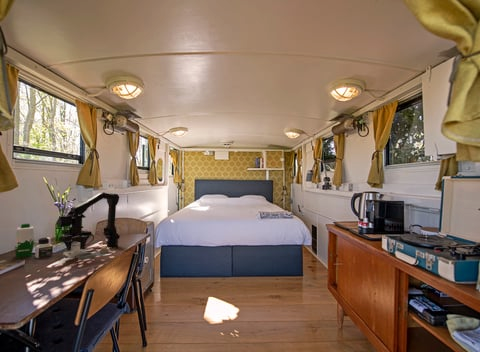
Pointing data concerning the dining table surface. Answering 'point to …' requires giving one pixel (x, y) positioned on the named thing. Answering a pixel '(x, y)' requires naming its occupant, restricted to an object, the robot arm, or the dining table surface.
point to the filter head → (92, 254)
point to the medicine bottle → (44, 248)
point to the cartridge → (75, 248)
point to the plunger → (104, 248)
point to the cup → (80, 241)
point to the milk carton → (24, 241)
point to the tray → (73, 254)
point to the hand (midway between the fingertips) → (75, 249)
